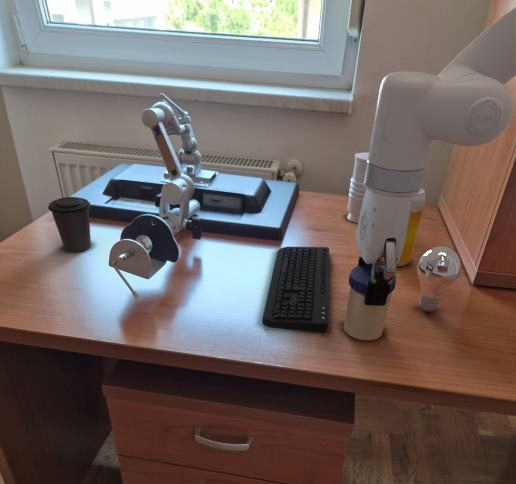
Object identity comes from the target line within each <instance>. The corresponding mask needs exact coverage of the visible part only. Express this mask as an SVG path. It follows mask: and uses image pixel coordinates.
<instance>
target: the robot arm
mask: <svg viewBox="0 0 516 484" xmlns="http://www.w3.org/2000/svg"><path fill="white" fill-rule="evenodd" d="M515 77H516V6H515V7H513V8H512V9H510V10H509V11H507V12H506V13H505V14H504V15H502V16H501V17H499V18H498V19H497V20H495V21H494V22H493V23H492V24H490V25H489V26H488V27H486V28H485V29H484V30H483V31H482V32H481V33H479V34H478V35H476V37H475V38H474V39H472V41H471V42H469V44H467V45H466V46H465V47H464V48H463V49H462V50H461V51H460V52H459V53H458V54H457V55H456V56H455V57H453V59H452V60H451V61H450V62H449V63H448V64H447V65H446V66H445V67H443V68H442V70H440V72H439V73H438V74H437V75H435V74H433V73H429V72H428V73H427V72H421V71H409V70H407V71H405V70H404V71H403V70H402V71H401V70H400V71H393V72H389V73H388V74H386V75H385V76H384V78H383V79H382V81H381V83H380V86H379V91H378V97H377V102H376V108H375V115H374V120H373V121H374V122H373V127H372V134H371V138H370V143H369V144H370V145H369V149H368V153H369V155H368V161H367V167H366V173H365V179H364V185H363V186H364V187H365V188H366V191H365V195H364V199H363V203H362V207H361V212H360V216H359V221H358V223H357V225H356V231H355V243H356V246H357V248H358V251H359V257H358V261H357V266H361V265H372V272H371V280H368V285H367V290H366V295H365V300H364V303H365V305H373V306H384V305H386V301H387V297H388V293H389V288H390V284H391V282H392V278H393V275H394V274H395V275H396V272H397V266H396V264H398V263H399V261H400V258H401V255H402V251H403V247H404V243H405V238H406V233H407V228H408V222H409V216H410V210H411V203H412V196H414V195H416V194H418V193H419V190H420V188H421V184H422V181H423V176H424V172H425V168H426V164H427V160H428V156H429V151H430V147H431V144H432V141H433V140H435V141H440V142H445V143H449V144H453V145H458V146H463V147H464V146H465V147H476V146H482V145H486V144H488V143H490V142H492V141H494V140H495V139H497V138H498V137H499V136H500V135H502V133H504V132H505V130H506V129H507V127H508V125H509V124H510V122H511V119H512V116H513V113H514V101H513V98H512V95H511V93H510V91H509V90H508V88H507V87H506V86H505V85H506V84H507V83H508V82H509V81H511V80H512V79H513V78H515ZM382 257H384V261H383V260H381V259H380V258H382ZM378 266H381V267H384V268H383V271H380V272H379V273H378V274H377V267H378Z"/></svg>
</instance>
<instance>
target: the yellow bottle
mask: <svg viewBox="0 0 516 484" xmlns="http://www.w3.org/2000/svg"><path fill="white" fill-rule="evenodd" d="M426 197H427V196H426V191H425V189H423V188H422V187H420V190H419V193H418V194H416V195H414V196H412V203H411V210H410V216H409V222H408V228H407V233H406V238H405V243H404V247H403V251H402V255H401V258H400V261H399V263H398V264H396V267H403V266H406V265H408V263H409V262H411V260H412V256H413V252H414V247H415V244H416V239H417V235H418V231H419V227H420V224H421V219H422V214H423V211H424V207H425V202H426ZM381 258H382V261H384V257H381Z"/></svg>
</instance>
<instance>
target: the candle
mask: <svg viewBox="0 0 516 484" xmlns="http://www.w3.org/2000/svg"><path fill="white" fill-rule="evenodd" d="M368 155H369V152H357V153H355V154H354V158H355V160H354V165H353V166H354V167H353V172H352V177H351V178H350V184H349V190H348V192H349V193H348V197H349V198H348V202H347V207H346V212H347V213H348V215H347V217H346V218H347V220H348V221H350V222H353V223H357V224H358V221H359V216H360V212H361V207H362V203H363V199H364V195H365V191H366V188H365V187H364V186H363V185H364V179H365V173H366V167H367V161H368Z"/></svg>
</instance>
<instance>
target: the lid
mask: <svg viewBox="0 0 516 484" xmlns="http://www.w3.org/2000/svg"><path fill="white" fill-rule="evenodd" d="M383 268H384V266H378V267H377V274H378V273H379V272H380V271H383ZM371 272H372V265H361V266H358V265H357V266H355V267H353V268H352V269H351V270H350V272H349V276H348V285H349V286H350V287H351V288H352V289H354V290H355V291H357V292H359V293H362V294H365V295H366V290H367V285H368V280H371ZM396 284H397V275H396V273H395V274H394V275H393V278H392V282H391V284H390V288H389V293H388V294H390V293H391V292H392V293H393V292H394V290H395V289H396Z"/></svg>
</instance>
